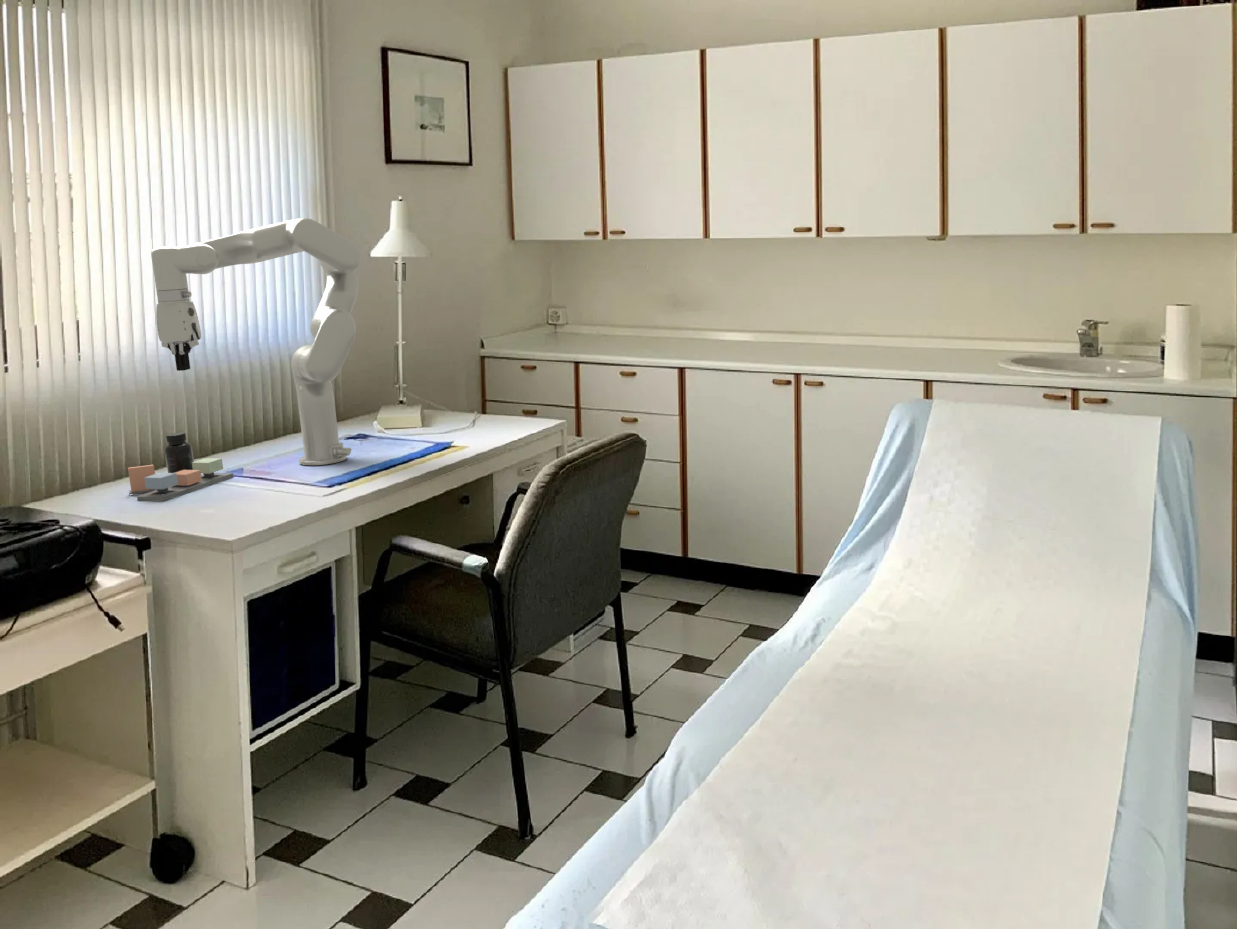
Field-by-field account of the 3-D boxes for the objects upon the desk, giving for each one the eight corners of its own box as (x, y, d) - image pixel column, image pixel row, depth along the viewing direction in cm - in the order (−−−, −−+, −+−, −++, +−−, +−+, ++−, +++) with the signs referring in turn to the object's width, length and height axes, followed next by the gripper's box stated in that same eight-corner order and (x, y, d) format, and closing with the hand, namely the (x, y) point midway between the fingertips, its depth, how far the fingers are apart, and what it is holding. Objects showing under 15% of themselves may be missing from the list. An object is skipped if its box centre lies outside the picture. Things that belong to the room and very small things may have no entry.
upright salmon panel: (129, 492, 294) (125, 467, 293) (159, 488, 297) (155, 463, 295) (129, 495, 291) (125, 469, 289) (159, 491, 293) (155, 465, 292)
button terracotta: (202, 484, 296) (200, 470, 296) (188, 489, 292) (186, 474, 291) (185, 484, 298) (183, 469, 297) (171, 489, 294) (169, 474, 293)
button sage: (223, 472, 304) (221, 458, 303) (210, 477, 299) (208, 462, 298) (207, 472, 306) (205, 458, 305) (193, 477, 301) (191, 462, 300)
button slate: (178, 488, 288) (176, 473, 288) (163, 493, 284) (161, 477, 283) (161, 487, 290) (159, 472, 289) (146, 492, 286) (144, 477, 285)
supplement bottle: (185, 474, 312) (179, 430, 310) (201, 476, 309) (195, 432, 306) (163, 480, 307) (156, 435, 304) (179, 482, 303) (172, 436, 301)
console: (233, 476, 306) (233, 473, 305) (163, 501, 282) (163, 497, 282) (208, 476, 308) (208, 472, 308) (137, 500, 285) (136, 496, 284)
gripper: (207, 294, 293) (217, 367, 297) (160, 296, 298) (170, 368, 302) (187, 297, 286) (197, 371, 290) (138, 299, 292) (149, 372, 295)
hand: (183, 369), depth 296 cm, fingers closed
